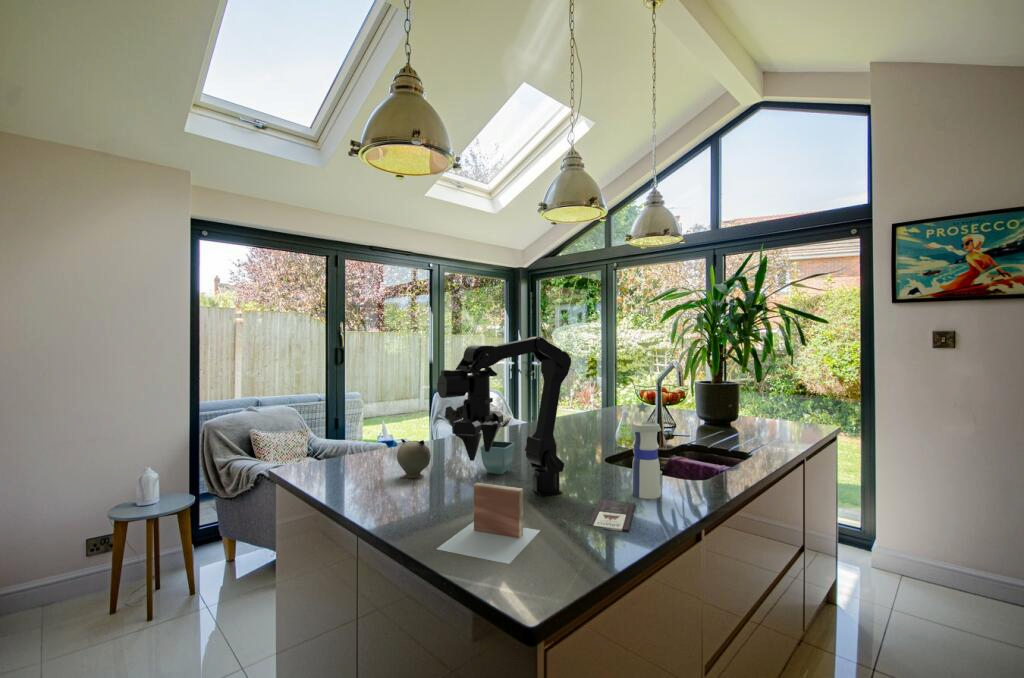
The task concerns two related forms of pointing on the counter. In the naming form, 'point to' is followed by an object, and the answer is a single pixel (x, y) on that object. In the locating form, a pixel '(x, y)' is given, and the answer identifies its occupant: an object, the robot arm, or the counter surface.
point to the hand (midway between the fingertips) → (479, 455)
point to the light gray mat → (488, 544)
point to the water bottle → (646, 459)
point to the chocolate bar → (612, 515)
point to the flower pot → (498, 457)
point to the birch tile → (498, 510)
